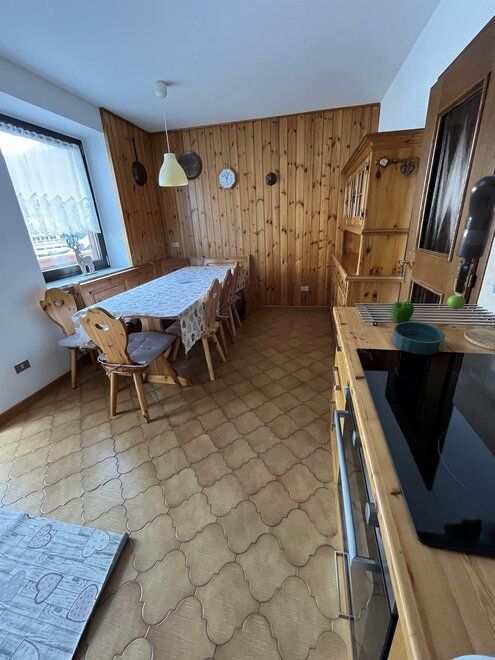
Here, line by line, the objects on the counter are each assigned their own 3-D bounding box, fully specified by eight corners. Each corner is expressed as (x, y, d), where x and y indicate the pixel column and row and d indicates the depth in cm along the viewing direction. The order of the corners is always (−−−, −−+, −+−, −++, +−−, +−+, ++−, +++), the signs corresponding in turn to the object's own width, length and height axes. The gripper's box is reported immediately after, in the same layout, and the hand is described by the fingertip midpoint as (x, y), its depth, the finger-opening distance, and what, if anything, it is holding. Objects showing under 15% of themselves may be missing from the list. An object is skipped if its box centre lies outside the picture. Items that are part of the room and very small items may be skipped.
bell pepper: (385, 321, 124) (389, 299, 119) (395, 315, 128) (399, 294, 124) (405, 327, 118) (410, 305, 113) (414, 321, 122) (419, 299, 118)
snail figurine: (456, 304, 109) (465, 274, 104) (466, 311, 103) (476, 280, 98) (441, 305, 110) (449, 275, 104) (450, 312, 104) (459, 280, 98)
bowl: (443, 340, 107) (447, 328, 104) (437, 361, 96) (441, 347, 93) (397, 330, 116) (399, 318, 113) (386, 348, 105) (389, 335, 102)
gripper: (486, 247, 88) (470, 297, 96) (487, 239, 98) (472, 285, 106) (457, 245, 93) (444, 294, 100) (461, 238, 102) (448, 282, 110)
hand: (459, 289), depth 103 cm, fingers closed on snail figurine, 5 cm apart
